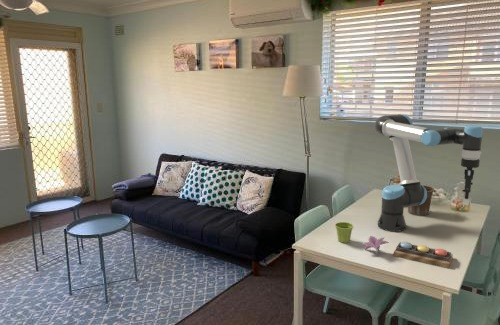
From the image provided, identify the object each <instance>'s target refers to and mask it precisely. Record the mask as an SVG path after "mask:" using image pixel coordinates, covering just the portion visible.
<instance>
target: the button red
mask: <svg viewBox="0 0 500 325" xmlns="http://www.w3.org/2000/svg"><path fill="white" fill-rule="evenodd" d="M434 249H435V254H436V255H438V256H443V257H445V256H447V252H448V251H447V250H446V249H443V248H434Z"/></svg>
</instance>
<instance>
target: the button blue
mask: <svg viewBox="0 0 500 325" xmlns="http://www.w3.org/2000/svg"><path fill="white" fill-rule="evenodd" d="M400 242H401V241H400ZM412 245H413V244H412V243H411V242H408V241H402V242H401V248H404V249H411V248H412Z"/></svg>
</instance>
